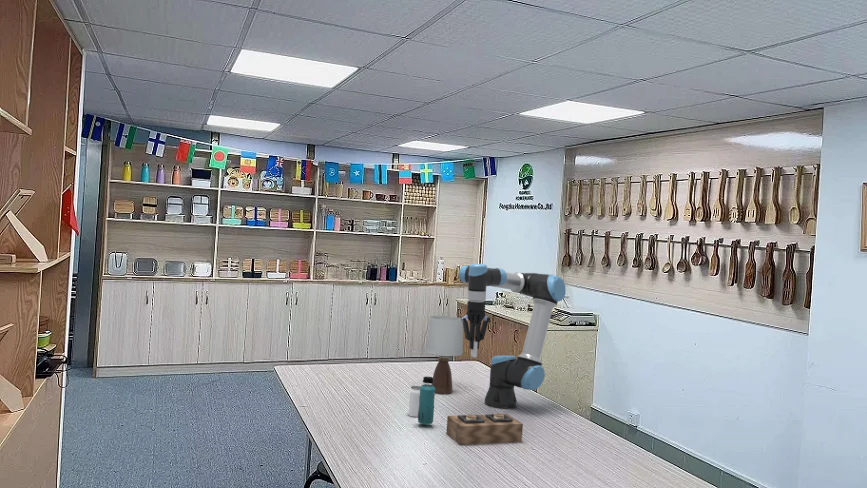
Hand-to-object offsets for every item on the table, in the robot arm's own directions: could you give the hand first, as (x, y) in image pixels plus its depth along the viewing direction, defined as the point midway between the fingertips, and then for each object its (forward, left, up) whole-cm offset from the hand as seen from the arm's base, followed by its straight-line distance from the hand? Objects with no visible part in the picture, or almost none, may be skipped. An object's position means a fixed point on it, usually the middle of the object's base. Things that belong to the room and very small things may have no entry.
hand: (473, 356), depth 276 cm
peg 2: (-4, +20, -27) cm, 34 cm away
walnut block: (+2, +20, -28) cm, 34 cm away
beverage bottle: (+20, +2, -28) cm, 35 cm away
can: (+19, -13, -28) cm, 37 cm away
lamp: (-8, -52, -28) cm, 60 cm away
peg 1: (+8, +20, -27) cm, 35 cm away
